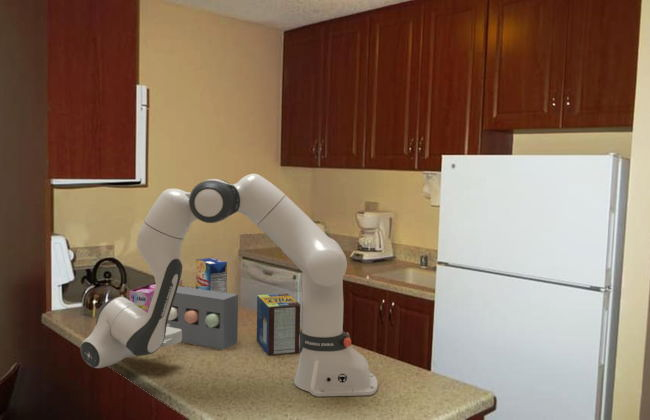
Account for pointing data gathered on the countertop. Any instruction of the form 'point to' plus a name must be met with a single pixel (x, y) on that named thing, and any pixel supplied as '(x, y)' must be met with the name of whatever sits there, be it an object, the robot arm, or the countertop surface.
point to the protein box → (278, 324)
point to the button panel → (206, 305)
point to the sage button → (213, 319)
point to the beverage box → (211, 275)
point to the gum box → (144, 295)
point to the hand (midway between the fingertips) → (166, 325)
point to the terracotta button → (192, 316)
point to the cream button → (173, 313)
